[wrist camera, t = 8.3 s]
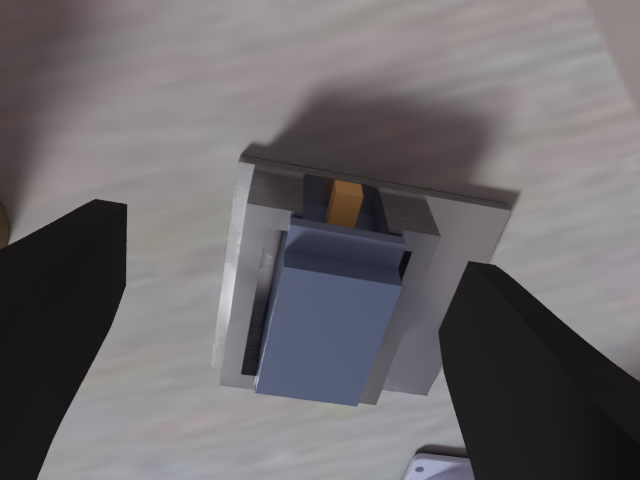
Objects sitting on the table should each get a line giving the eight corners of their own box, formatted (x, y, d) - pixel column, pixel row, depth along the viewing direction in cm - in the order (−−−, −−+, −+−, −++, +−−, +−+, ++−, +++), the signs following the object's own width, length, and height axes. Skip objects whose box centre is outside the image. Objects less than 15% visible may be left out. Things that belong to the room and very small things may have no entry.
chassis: (424, 386, 27) (439, 444, 24) (212, 358, 26) (200, 416, 23) (506, 203, 22) (538, 250, 19) (240, 155, 20) (228, 197, 17)
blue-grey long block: (344, 344, 25) (350, 423, 21) (260, 331, 24) (251, 410, 21) (396, 183, 20) (417, 246, 17) (295, 164, 20) (292, 224, 16)
